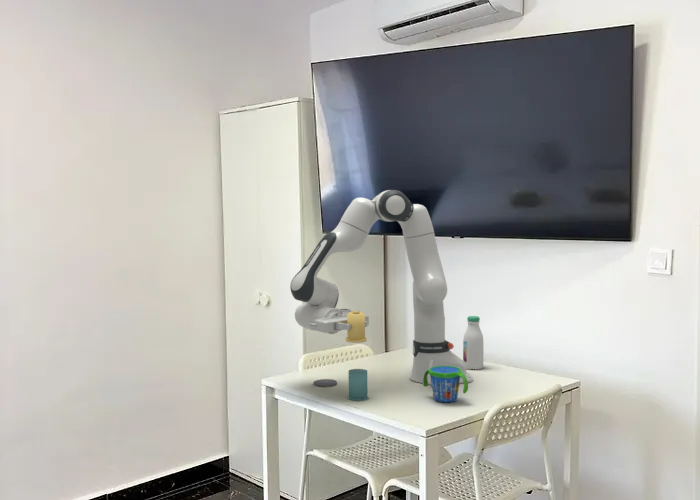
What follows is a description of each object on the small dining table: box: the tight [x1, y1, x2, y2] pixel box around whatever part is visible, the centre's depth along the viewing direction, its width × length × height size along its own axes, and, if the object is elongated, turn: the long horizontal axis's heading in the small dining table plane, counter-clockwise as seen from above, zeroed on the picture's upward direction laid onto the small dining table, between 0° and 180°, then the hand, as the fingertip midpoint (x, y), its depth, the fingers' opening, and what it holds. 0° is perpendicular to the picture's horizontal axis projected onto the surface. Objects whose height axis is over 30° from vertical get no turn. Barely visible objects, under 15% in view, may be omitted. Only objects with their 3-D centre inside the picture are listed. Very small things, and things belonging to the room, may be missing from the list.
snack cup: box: [422, 366, 469, 403], centre depth 226 cm, size 16×10×10 cm
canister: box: [347, 368, 369, 402], centre depth 229 cm, size 7×7×9 cm
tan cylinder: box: [345, 310, 368, 343], centre depth 229 cm, size 7×7×10 cm
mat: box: [313, 378, 338, 388], centre depth 248 cm, size 8×8×1 cm
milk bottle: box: [462, 315, 484, 371], centre depth 269 cm, size 8×8×20 cm
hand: (358, 325), depth 228 cm, fingers closed on tan cylinder, 6 cm apart
